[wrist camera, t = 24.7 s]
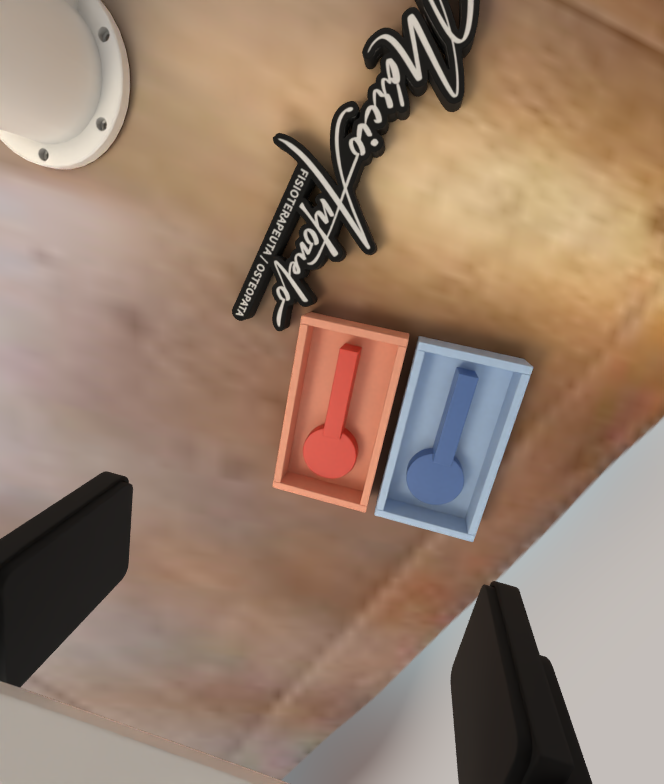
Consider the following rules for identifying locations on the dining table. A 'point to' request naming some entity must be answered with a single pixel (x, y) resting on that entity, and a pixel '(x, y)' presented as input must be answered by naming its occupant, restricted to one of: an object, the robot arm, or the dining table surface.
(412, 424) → the blue bin
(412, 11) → the nameplate
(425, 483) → the blue spoon
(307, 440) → the red spoon
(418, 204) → the dining table surface
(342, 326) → the red bin
